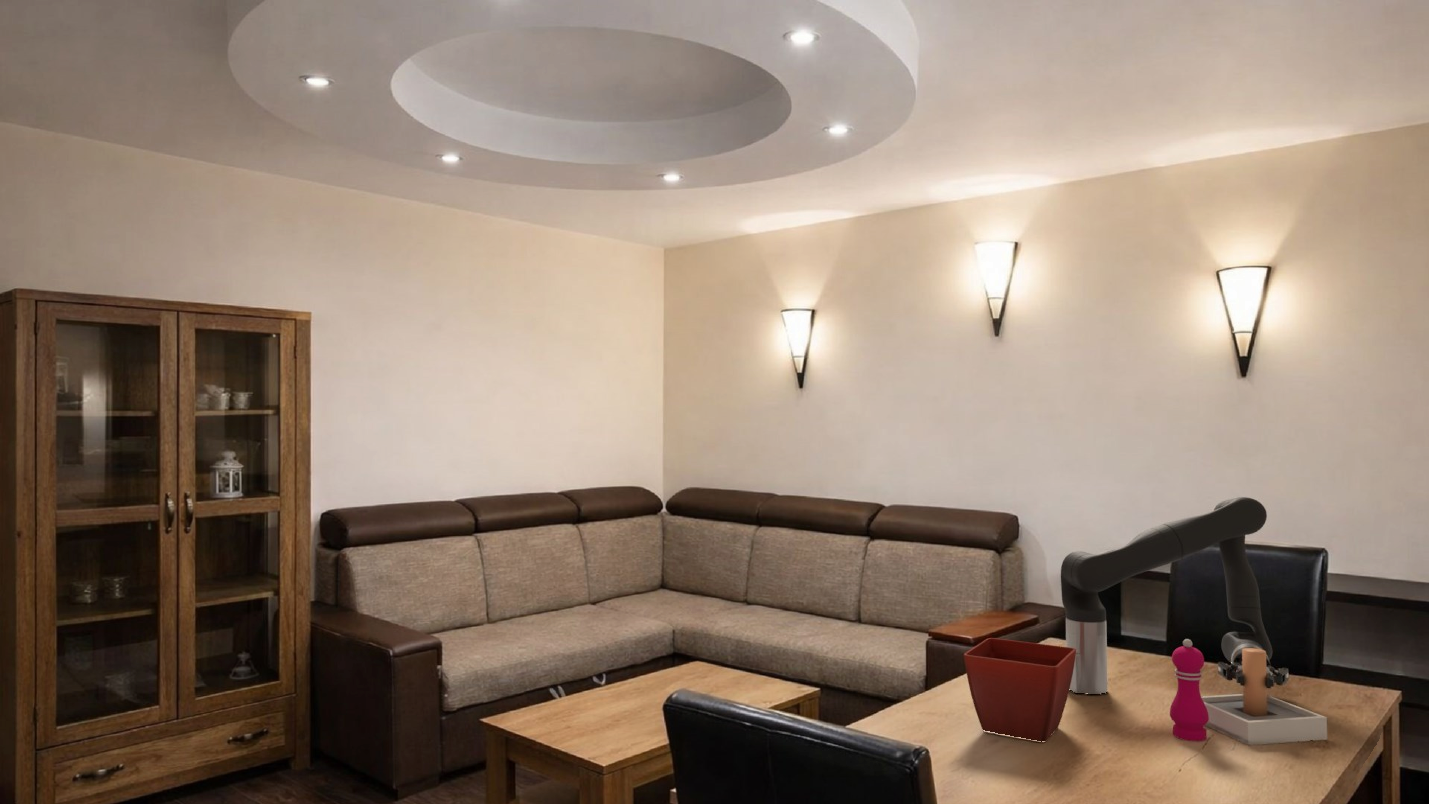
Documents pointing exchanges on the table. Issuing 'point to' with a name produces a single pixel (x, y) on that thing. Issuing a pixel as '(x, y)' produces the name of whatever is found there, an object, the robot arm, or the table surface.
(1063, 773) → the table surface
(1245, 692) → the peg
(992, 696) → the plant pot
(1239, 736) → the tray
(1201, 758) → the table surface
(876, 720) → the table surface
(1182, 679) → the pepper mill
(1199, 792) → the table surface
